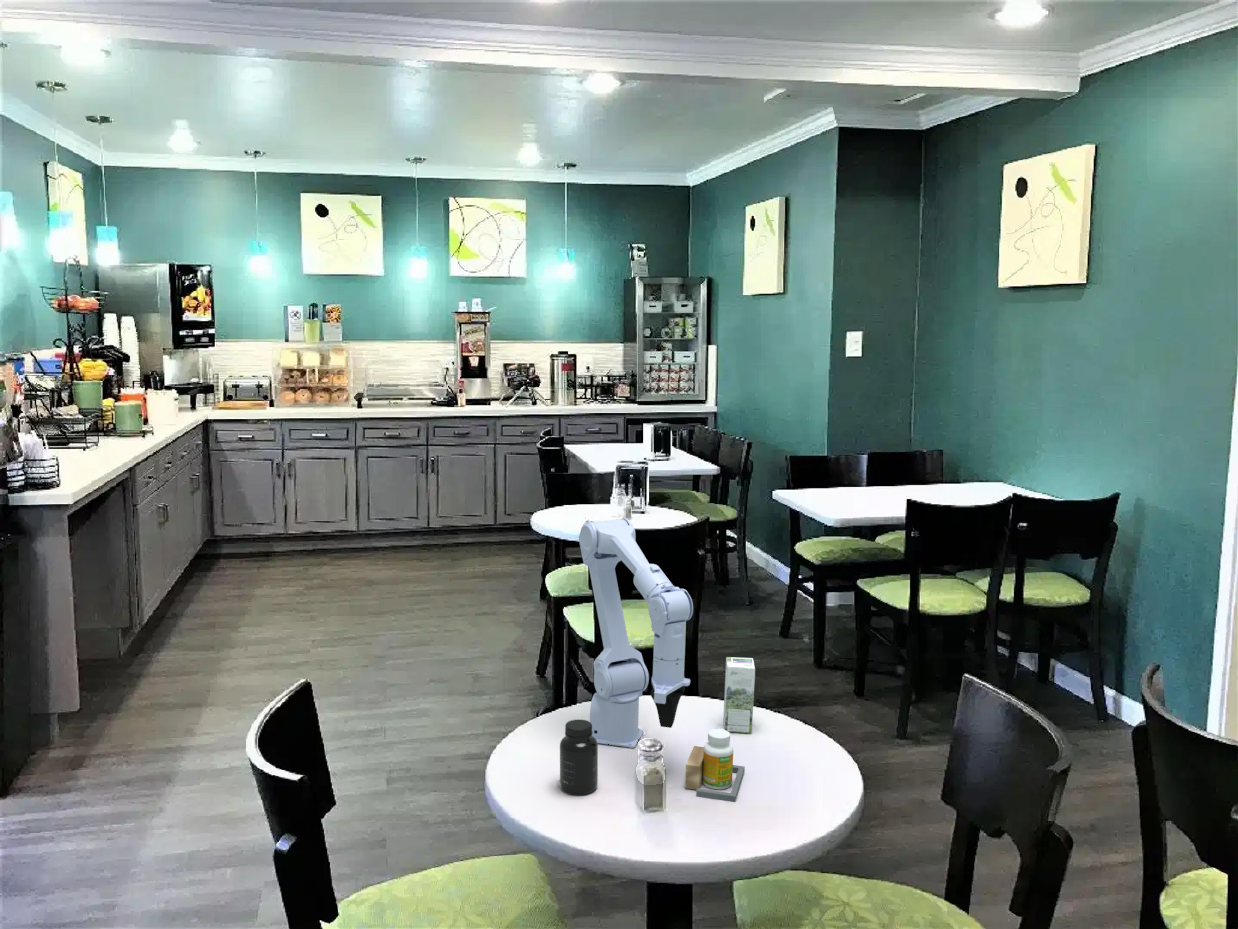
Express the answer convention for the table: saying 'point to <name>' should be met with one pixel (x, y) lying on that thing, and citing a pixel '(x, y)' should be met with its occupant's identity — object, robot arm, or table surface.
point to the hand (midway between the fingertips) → (666, 725)
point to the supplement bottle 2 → (718, 760)
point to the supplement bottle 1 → (578, 759)
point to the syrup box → (739, 695)
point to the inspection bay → (725, 795)
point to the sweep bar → (694, 768)
